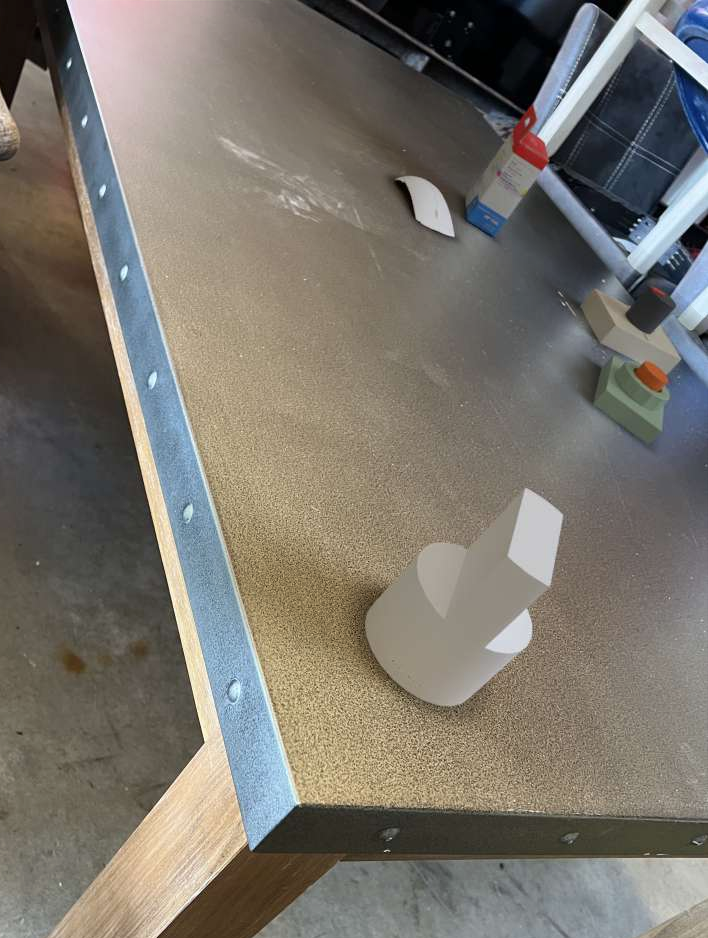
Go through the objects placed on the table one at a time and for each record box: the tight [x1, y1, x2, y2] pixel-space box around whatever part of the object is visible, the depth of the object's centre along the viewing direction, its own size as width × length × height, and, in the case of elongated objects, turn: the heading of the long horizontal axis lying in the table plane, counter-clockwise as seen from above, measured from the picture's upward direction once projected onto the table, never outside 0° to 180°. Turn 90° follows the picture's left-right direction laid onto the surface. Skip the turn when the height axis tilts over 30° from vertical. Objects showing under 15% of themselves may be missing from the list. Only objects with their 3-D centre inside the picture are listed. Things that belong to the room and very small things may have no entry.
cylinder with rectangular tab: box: [364, 487, 564, 707], centre depth 62 cm, size 9×9×12 cm
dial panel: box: [579, 288, 682, 376], centre depth 130 cm, size 12×9×3 cm
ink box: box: [465, 104, 550, 238], centre depth 130 cm, size 8×5×15 cm, turn 171°
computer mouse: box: [394, 175, 456, 238], centre depth 125 cm, size 7×12×2 cm, turn 15°
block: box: [592, 354, 671, 446], centre depth 114 cm, size 12×8×4 cm, turn 157°
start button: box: [634, 361, 669, 393], centre depth 113 cm, size 4×4×2 cm
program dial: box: [626, 284, 677, 334], centre depth 128 cm, size 4×4×5 cm
